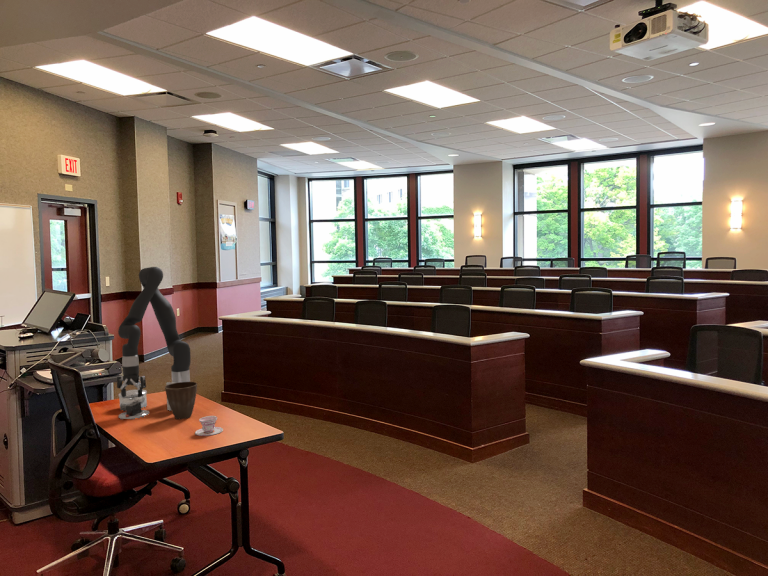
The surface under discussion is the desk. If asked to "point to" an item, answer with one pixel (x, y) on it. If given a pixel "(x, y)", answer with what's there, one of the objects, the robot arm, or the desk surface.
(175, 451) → the desk surface
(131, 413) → the cooker lid
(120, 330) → the robot arm
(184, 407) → the plant pot
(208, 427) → the teacup
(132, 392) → the cooker pot
